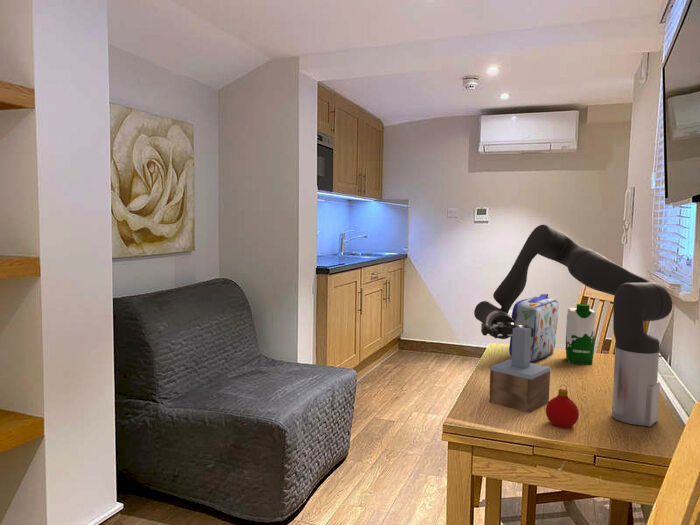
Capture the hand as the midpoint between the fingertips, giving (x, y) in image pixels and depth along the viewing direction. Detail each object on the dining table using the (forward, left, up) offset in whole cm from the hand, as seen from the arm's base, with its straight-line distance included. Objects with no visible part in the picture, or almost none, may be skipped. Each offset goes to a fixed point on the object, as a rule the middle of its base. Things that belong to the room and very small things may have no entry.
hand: (512, 335), depth 145 cm
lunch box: (+13, -43, -16) cm, 48 cm away
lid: (-7, +8, -8) cm, 13 cm away
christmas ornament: (-21, +15, -16) cm, 30 cm away
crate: (-7, +8, -16) cm, 19 cm away
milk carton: (-1, -48, -16) cm, 51 cm away
